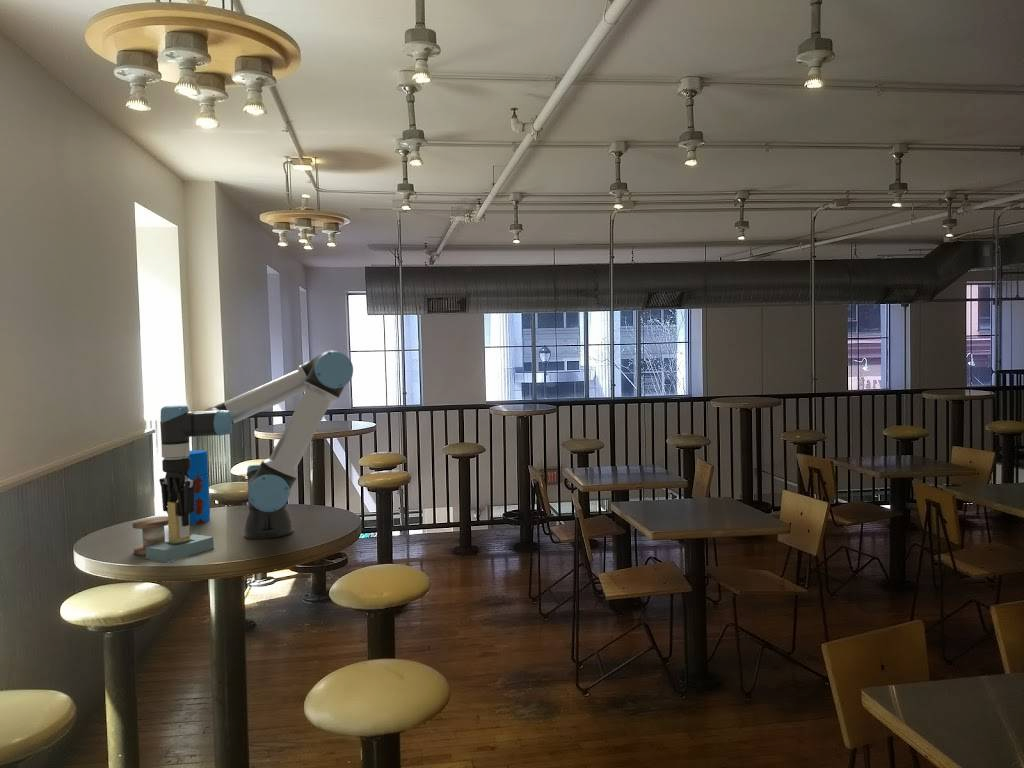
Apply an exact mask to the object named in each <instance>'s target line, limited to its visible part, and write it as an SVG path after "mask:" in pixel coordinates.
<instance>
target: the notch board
mask: <svg viewBox="0 0 1024 768" xmlns="http://www.w3.org/2000/svg"><path fill="white" fill-rule="evenodd" d="M214 544H215V543H214V536H210V535H209V536H208V535H201V534H196V533H193V534H190V540H188V541H184V542H181V543H177V544H176V543H170V542H169V540H167V541H166V540H165V542H163V543H159V544H155V545H152V546H148V547H146V556H145V559H146V560H149V559H150V560H149V561H154V562H160V563H165V562H166V563H169V562H173V561H176V560H179V559H183V558H185V557H190V556H193V555H196V554H200V553H203V552H206V551H209V550H213V549H215V548H214V547H215V545H214Z"/></svg>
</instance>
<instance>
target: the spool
mask: <svg viewBox="0 0 1024 768" xmlns="http://www.w3.org/2000/svg"><path fill="white" fill-rule="evenodd" d="M131 524H132V526H131V527H132V528H133V529H135V530H137V529H138V530H141V532H142V544H140V545H137V546H135V547H134V548H133V554H134V555H135V556H140V555H141V557H142V555H146V547H148V546H152V545H155V544H159V543H163V542H166V534H165V527H166V526H168V515H167V516H163V515H161V516H151V517H150V516H149V517H145V518H140V519H136V520H134V521H132V522H131Z"/></svg>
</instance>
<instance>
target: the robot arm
mask: <svg viewBox="0 0 1024 768" xmlns="http://www.w3.org/2000/svg"><path fill="white" fill-rule="evenodd" d="M353 374H354V366H353V362H352V361H351V358H349V357H348V355H346V354H345V353H343V352H342V351H339V350H336V349H334V350H333V349H330V350H326V351H323V352H321V353H319V354H317V355H316V356H315V357H313V358H312V359H310V360H308V361H306V362H304V363H303V364H300V365H298V367H297V369H296V370H294V371H292V372H289V373H287V374H285V375H282V376H280V377H278V378H276V379H274V380H271V381H268V382H267V383H264V384H262V385H260V386H258V387H256V388H253V389H250V390H249V391H246V392H244V393H241V394H239V395H237V396H235V397H233V398H231V399H228V400H226V401H223V402H221V403H219V404H217V405H214V406H211V407H208V408H206V409H205V410H202V411H200V410H199V411H190V410H189V407H188V406H187V405H181V404H180V405H176V404H175V405H165V406H163V407H161V409H160V421H159V423H160V438H161V439H160V440H161V441H160V442H161V445H160V446H161V458H163V459H162V462H161V463H162V466H161V467H162V472H163V473H165V477H163V478H159V484H160V489H161V504H162V511H163V512H166V513H167V514H168V505H167V502H170V501H175V500H178V503H179V509H180V514H178V520H179V538H183V537H186V536H189V514H190V513H193V512H194V486H195V480H190V479H189V476H188V473H187V471H188V470H190V468H191V466H190V458H189V457H188V456H189V455H190V451H191V449H190V438H191V437H208V436H209V437H210V436H218V437H219V436H226V435H230V434H232V431H233V424H236V423H238V422H241V421H243V420H245V419H247V418H249V417H251V416H254V415H256V414H258V413H260V412H262V411H265V410H267V409H270V408H271V407H274V406H276V405H278V404H280V403H284V402H285V401H286V400H289V399H292V398H294V397H296V396H298V395H301V394H302V397H301V399H300V400H299V402H298V404H297V406H296V408H295V410H294V412H293V414H292V415H291V417H290V420H289V421H288V423H287V425H286V426H285V429H284V431H283V433H282V434H281V436H280V437H279V440H278V442H277V443H276V446H275V448H274V449H273V451H272V453H271V455H270V457H268V458H266V459H263V460H262V461H261V462H260V464H252V465H251V464H250V465H249V466H247V470H246V471H247V472H246V477H247V497H248V498H247V499H248V500H247V501H248V514H247V519H246V522H245V526H244V528H243V536H244V538H246V539H253V540H254V539H255V540H264V539H265V540H266V539H274V538H280V537H283V536H287V535H289V534H292V533H293V531H294V529H293V521H292V520H291V518H290V514H289V511H288V510H287V502H288V501H289V498H290V491H291V490H292V489H293V486H294V484H295V482H296V480H297V478H298V474H297V468H298V466H299V464H300V462H301V460H302V458H303V456H304V454H305V452H306V450H307V448H308V447H309V445H310V443H311V441H312V439H313V437H314V436H315V433H316V431H317V430H318V427H319V425H320V423H321V422H322V420H323V418H324V417H325V415H326V412H327V410H328V408H329V407H330V404H331V403H332V402H333V401H337V400H339V398H340V396H341V395H342V392H343V390H344V388H345V387H346V385H347V384H349V383H350V381H351V380H352V378H353ZM180 489H181V490H180Z"/></svg>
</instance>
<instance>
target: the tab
mask: <svg viewBox="0 0 1024 768" xmlns="http://www.w3.org/2000/svg"><path fill="white" fill-rule="evenodd" d="M167 505H168V513H167V516H168V525H167V526H168V541H169V542H170V543H176V544H177V543H181V542H184V541H188V540H190V535H191V527H190V526H191V525H190V522H189V536H186V537H183V538H179V520H178V514H180V509H179V503H178V500H175V501H170V502H167Z"/></svg>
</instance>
